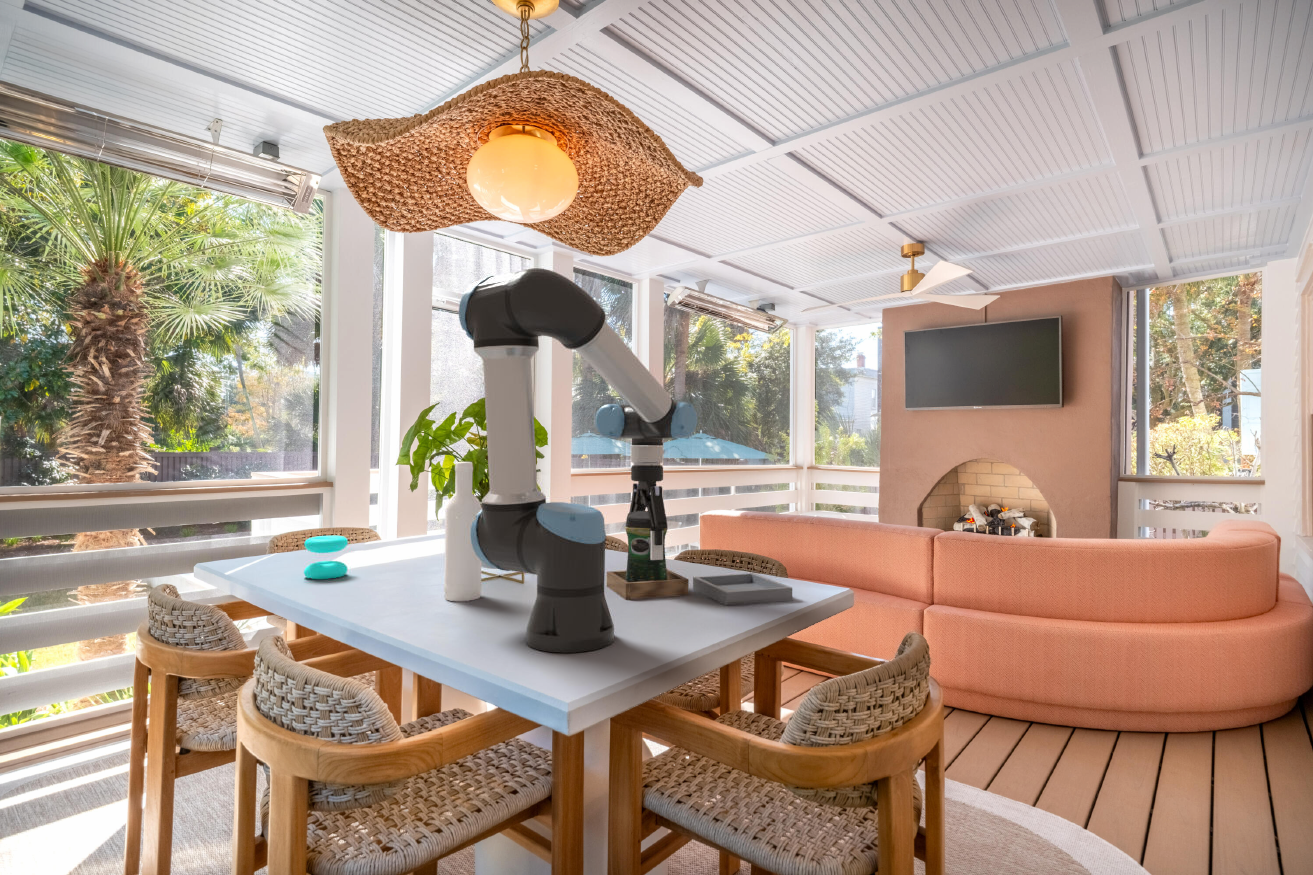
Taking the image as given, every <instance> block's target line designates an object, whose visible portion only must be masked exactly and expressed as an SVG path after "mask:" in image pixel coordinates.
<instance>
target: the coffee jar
mask: <svg viewBox="0 0 1313 875" xmlns="http://www.w3.org/2000/svg"><path fill="white" fill-rule="evenodd" d="M667 519H668V518H666V520H667ZM625 521H626V522H625V527H624V528H625V533H626V536H627V562H626V570H627V571H626V581H627V582H643V581H658V580H667V569H668V568H667V561H666V559H667V558H666V549H665V546H666V544H665V543H666V535H667V533H668V526H667V529H664V531H663V560H651V531H650V528H651V527H652V525H651V521H650V517H649V514H648V510H645V511H636V512H630V513H629V512H628V513H627V516H626V520H625Z"/></svg>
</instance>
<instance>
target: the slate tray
mask: <svg viewBox="0 0 1313 875" xmlns="http://www.w3.org/2000/svg"><path fill="white" fill-rule="evenodd" d="M692 589H693V590H694V591H695V592H696V591H697V592H698V593H700V594H702V595H704V596H706V597H708V598H711V599H712V600H713V601H716V602H718V603H720V604H721V605H722V604H723V605H724V606H726V607H728V606H729V607H730V606H741V605H754V604H763V603H764V604H765V603H774V602H775V603H777V602H788V601H789V602H791V601H793V587H792V586H789V585H786V584H784V583H782V582H778V581H776V580H774V579H770V578H767V577H764V576H762V575H760V574H757V573H755V572H750V573H735V574H734V573H731V574H717V575H703V576H693V577H692Z"/></svg>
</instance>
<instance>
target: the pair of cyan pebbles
mask: <svg viewBox="0 0 1313 875" xmlns="http://www.w3.org/2000/svg"><path fill="white" fill-rule="evenodd" d="M348 543H349V541H348V539H347V537H346V536H342V535H319V536H313V537H309V538H307V539H305V541H304V548H305V549H306V550H307V551H308V552H311V553H315V554H329V553H337V552H340V551H342V550H344V549H345V548H346V547H347V546H348ZM347 573H348V566H347V564H345V563H344V562H342V561H337V560H322V561H317V562H313V563H310V564H309V565H307V566H306V567H305V568H304V569H303V574H304V576H305V578H307V579H309V578H312V579H311V580H330V579H329V578H333V579H337V577H338V578H341V577H343V576H345V575H346V574H347Z"/></svg>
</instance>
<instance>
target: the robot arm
mask: <svg viewBox="0 0 1313 875" xmlns="http://www.w3.org/2000/svg"><path fill="white" fill-rule="evenodd" d="M460 298H461V299H460V301H459V305H458V306H459V307H458V318H459V320H458V321H459V323H460V326H461V328H462V330H463V331H465V335H466V336H467V337H468V338H469V339H470V340H472V341H473V351H474V352H475V353H476V354H477V355H478V356H479V357H480V358H481V360H482V362H483V363H482V365H483V382H484V383H483V384H484V385H483V386H484V401H485V402H484V403H485V404H484V405H485V422H486V440H487V445H486V446H487V461H488V462H487V465H488V480H489V482H488V484H489V491H488V492H487V494H486V495H484V497H483V498H482V499H481V508H482V510H480V511H479V512H478V514H477V515H476V520H475V521H473V522H472V526H471V532H470V537H471V543H472V547H473V550H474V552H475V553H476V555H477V556H478V558H479V559H480V560H481V563H483V564H485V565H487V566H489V567H492V568H495V569H498V570H500V571H505V572H517V573H523V574H530V575H536V583H537V584H536V599H535V601H534V604H533V607H532V611H531V613H530V617H529V619H528V622H527V626H526V632H525V635H526V636H525V640H526V641H525V643H526V644H527V645H528V646H529V647H531V648H533V649H535V650H540V651H543V652H552V653H582V652H591V651H595V650H598V649H601V648H604V647H605V648H606V647H607V646H610V645H611V644H612V643H613V642H614V640H615V625H614V623H613V619H612V615H611V611H610V609H609V605H608V602H607V598H606V596H605V576H606V575H605V573H606V572H605V570H606V568H605V566H606V563H605V562H606V537H607V534H606V528H605V527H606V526H605V517H604V515H603V513H602V512H601V511H600V510H599V509H598V508H596V507H593V506H588V505H584V504H581V503H580V504H579V503H574V502H573V503H570V502H560V501H558V502H557V501H551V502H547V500H546V499H547V498H546V495H545V494H544V493H543V492H542V491H541V490H540V489H539V488H538V480H537V479H538V478H537V460H536V438H535V437H536V436H535V422H534V421H535V418H534V399H533V398H534V397H533V377H532V376H533V375H532V373H533V372H532V358H533V357H534V356H535V354H536V353H538V351H539V348H540V345H539V337H542V336H543V337H549V338H551V339H552V338H553V339H555V340H557V341H558V342H559V343H561V345H563V347H564V348H565V349H567V350H572V351H576V352H577V353H578V354H579V356H581V357H582V359H584V360H585V362H586V363H588V365H590V366H591V367H592V369H593V370H595V372H596V373H598V376H599V375H600V377H601V378H602V379H603V380H604V381H605V382H606V383H607V384H608V386H610V387H611V388H612V389H613V391H615V392H616V394H617V395H619V397H620V398H621V399H622V400H623V401H624V402H625V403H626V404H619V403H609V404H608V403H607V404H606V403H605V404H604V405H602V406H601V407H599V409H598V411H597V412H596V414H595V418H594V419H595V421H594V424H595V428H596V430H597V432H598V434H600V436H601V437H603V438H606V439H612V440H614V439H615V440H616V439H631V444H630V445H631V446H630V462H631V463H632V465H631V467H630V468H631V470H630V479H631V481H632V482H637V483H633V484H632V496H631V501H630V506H629V512H628V513H630V512H636V511H648V514H649V517H650V521H651V525H652V527H651V528H650V531H651V560H663V531H664V529H667V527H668V521H667V520H666V519H667V515H666V508H665V502H664V496H663V486H662V485H659V486H658V485H657V482H661V481H663V480H664V466H663V465H661V464H662V463H663V462H664V455H665V453H666V451H665V450H664V439H671V440H672V439H673V440H677V439H686V438H689V437H691V436H693V434H694V433H695V431H696V427H697V425H698V415H697V414H698V413H697V411H696V408H695V407H694V405H693V404H691V403H689V402H683V401H678V402H677V401H675V400H674V398H673V397H672V396H671V395H670V394H669V393H668V392H667V391H666V390H665V387H663V386H662V385H661V383H659V381H658V380H657V379H656V378H655V377H654V375H653V374H652V372H651V371H649V370H648V369H647V367H646V366H645V365H644V364H643V363H642V362H641V360H640V359H639V358H638V357H637V356H636V355H635V353H633V351H632V350H631V349H630V348H629V347H628V345H627V344H626V343H625V342H624V341H623V340H622V338H621V337H620V336H619V334H617V333H616V332H615V330H614V329H613V328H612V327H611V325H610V324H609V323H608V322H607V314H606V312H605V310H604V309H603V308H602V306H601V305H600V304H599V303H598V302H597V301H596V300H595V299H594V298H593V297H592V296H591V294H589V293H588V292H587V291H585V290H584V289H583V288H582V287H580V286H579V285H578V284H577V283H575V282H574V281H572V280H571V279H569V278H568V277H566V276H564V275H562V274H559V273H558V272H556V271H553V270H550V269H545V268H541V267H540V268H539V267H538V268H537V267H536V268H535V267H533V268H528V269H527V268H526V269H524V270H520V271H515V272H510V273H509V272H508V273H503V274H497V275H490V276H486V277H485V278H483V279H480V280H478V281H474V282H473V283H472V284H470V285H469V286H468V288H467V289H465V290H464V292H463V294H462V296H461V297H460ZM667 530H668V529H667Z"/></svg>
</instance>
